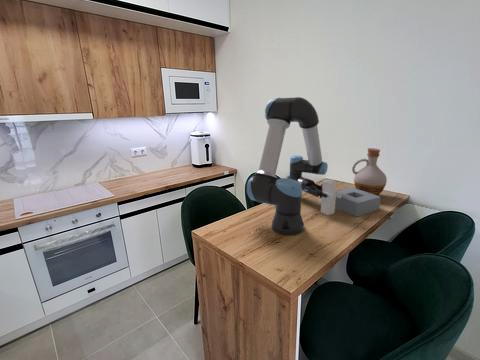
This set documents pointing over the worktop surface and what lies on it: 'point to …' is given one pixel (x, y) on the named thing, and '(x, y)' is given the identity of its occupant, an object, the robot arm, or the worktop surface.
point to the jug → (370, 174)
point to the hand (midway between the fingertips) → (336, 196)
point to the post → (327, 204)
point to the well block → (357, 201)
